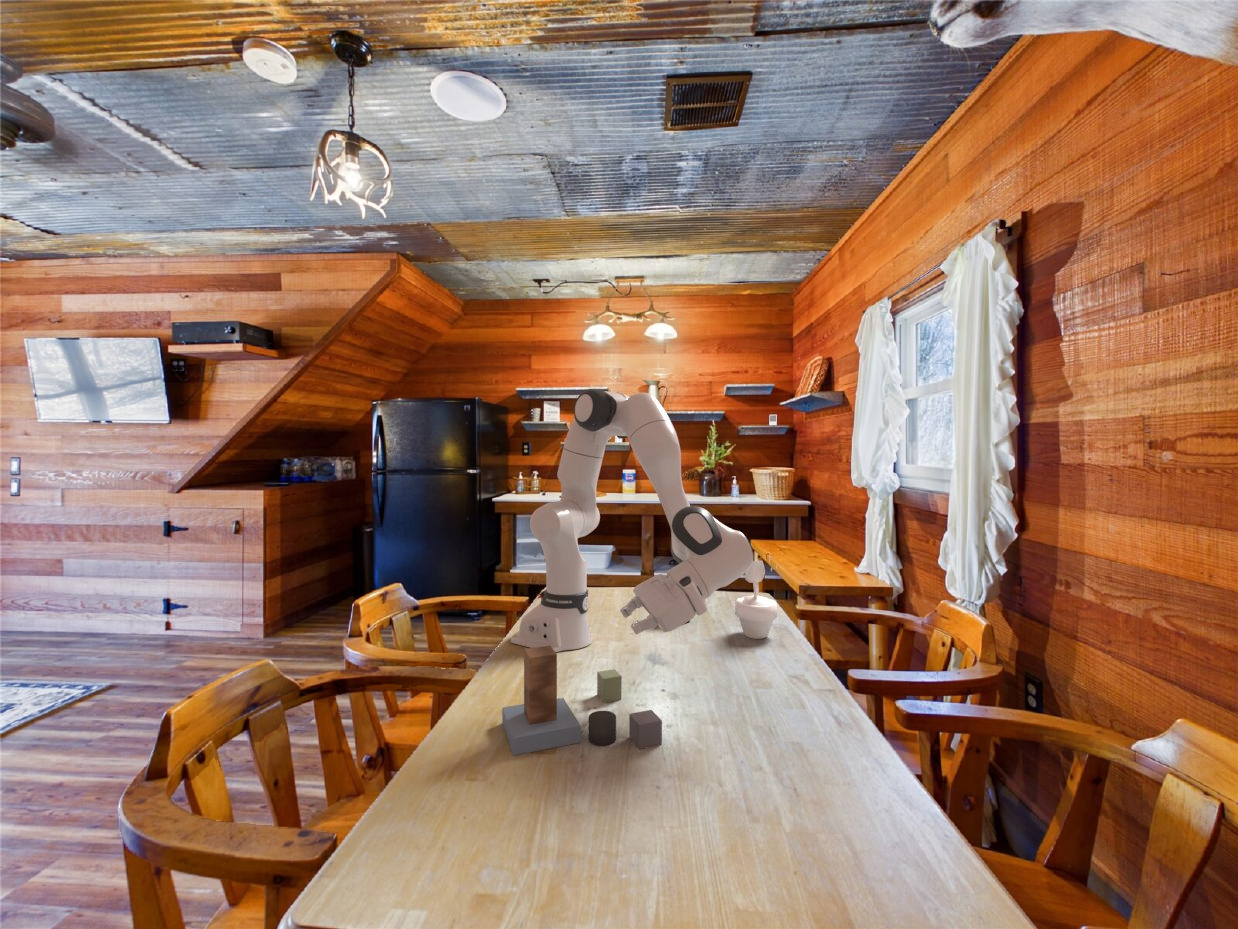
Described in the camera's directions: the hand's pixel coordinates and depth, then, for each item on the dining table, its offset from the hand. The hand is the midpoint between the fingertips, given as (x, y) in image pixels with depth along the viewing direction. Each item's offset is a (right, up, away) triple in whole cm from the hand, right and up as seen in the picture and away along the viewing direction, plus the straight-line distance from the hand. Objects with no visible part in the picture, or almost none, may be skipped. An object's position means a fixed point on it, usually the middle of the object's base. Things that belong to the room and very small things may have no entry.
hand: (627, 621), depth 109 cm
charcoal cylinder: (-5, -18, -11) cm, 22 cm away
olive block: (-4, -18, +6) cm, 19 cm away
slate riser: (-16, -18, -9) cm, 26 cm away
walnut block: (-16, -15, -9) cm, 24 cm away
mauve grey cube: (+3, -18, -12) cm, 22 cm away
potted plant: (+38, -17, +46) cm, 62 cm away
